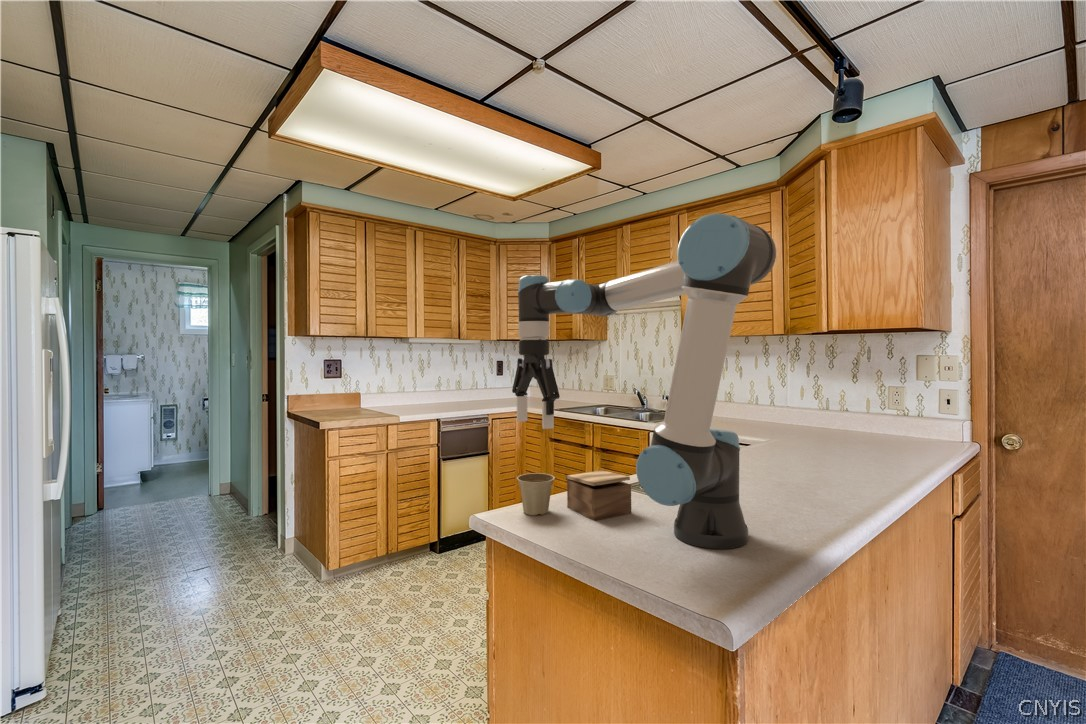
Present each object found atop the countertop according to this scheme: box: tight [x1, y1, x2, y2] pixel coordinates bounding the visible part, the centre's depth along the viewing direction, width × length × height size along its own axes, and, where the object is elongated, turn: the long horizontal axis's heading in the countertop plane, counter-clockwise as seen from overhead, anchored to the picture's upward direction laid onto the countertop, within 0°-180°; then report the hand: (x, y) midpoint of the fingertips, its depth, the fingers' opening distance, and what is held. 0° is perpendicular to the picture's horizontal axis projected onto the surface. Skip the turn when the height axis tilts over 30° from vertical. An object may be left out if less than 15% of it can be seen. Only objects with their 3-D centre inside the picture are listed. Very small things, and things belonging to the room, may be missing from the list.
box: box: [566, 480, 632, 522], centre depth 129 cm, size 12×11×7 cm
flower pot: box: [516, 472, 555, 516], centre depth 128 cm, size 9×9×9 cm
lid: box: [565, 470, 631, 486], centre depth 129 cm, size 13×11×1 cm
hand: (534, 424), depth 128 cm, fingers open, 13 cm apart
